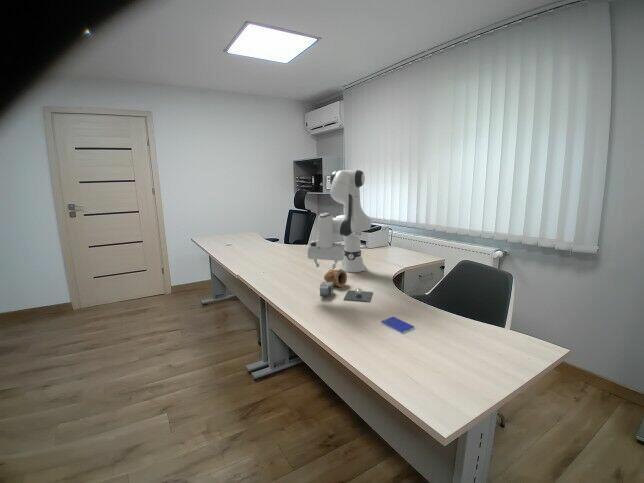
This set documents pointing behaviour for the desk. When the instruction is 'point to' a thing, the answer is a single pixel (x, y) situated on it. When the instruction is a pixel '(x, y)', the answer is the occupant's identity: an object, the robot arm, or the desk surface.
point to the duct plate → (354, 298)
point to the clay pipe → (336, 277)
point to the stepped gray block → (326, 289)
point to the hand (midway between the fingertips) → (325, 267)
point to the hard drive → (397, 324)
